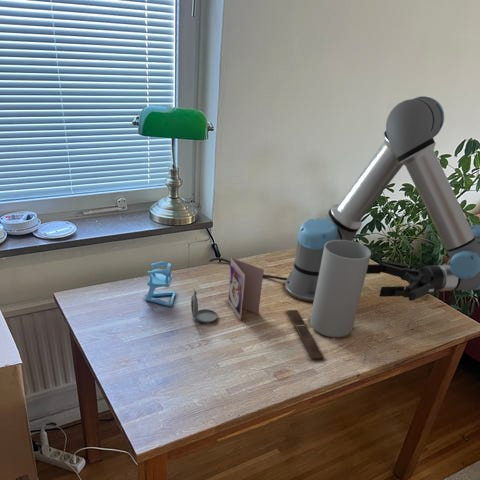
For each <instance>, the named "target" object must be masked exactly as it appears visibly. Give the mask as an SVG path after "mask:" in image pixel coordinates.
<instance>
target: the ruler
mask: <svg viewBox="0 0 480 480" xmlns="http://www.w3.org/2000/svg"><path fill="white" fill-rule="evenodd" d="M286 313H287V315H288V317H289V319H290V321H291V322H292V324H293V326H294V328H295V330H296V332H297V334H298V336H299V338H300V339H301V342H302V343H303V346H304V347H305V349H306V351H307V353H308V355H309V357H310V359H311V361H323V360H324V356H323V354H322V352H321V350H320V349H319V348H318V345H317V343H316V342H315V340H314V338H313V337H312V335H311V332H310V331H309V329H308V327H307V326H306V324H305V322H304V320H303V318H302V317H301V315H300V313H299V311H298V309H297V310H295V309H294V310H293V309H292V310H291V309H290V310H287V312H286Z"/></svg>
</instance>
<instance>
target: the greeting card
mask: <svg viewBox="0 0 480 480" xmlns="http://www.w3.org/2000/svg"><path fill="white" fill-rule="evenodd" d="M230 261H231V264H230V263H228V264H229V277H228V278H229V279H228V289H227V291H228V292H227V303H228V304H229V306H230V307H231V309H232V310H233V312H234V313H235V315H236V316H237V317H238V319H239V320H240V321H242V311H243V309H245V310H247V311H250V312H252V313H254V314H258V315H259V313H260V305H261V303H260V302H261V294H262V287H263V279H264V277H263V275H264V271H265V270H264V269H263V268H260V267H258V266H255V265H253V264H250V263H247V262H245V261H241V260H238V259H236V258H233V257H230Z"/></svg>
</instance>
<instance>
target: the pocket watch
mask: <svg viewBox="0 0 480 480" xmlns="http://www.w3.org/2000/svg"><path fill="white" fill-rule="evenodd" d="M193 290H194V292H193V294H192V295H191V298H190V308H191V314H192V318H194V319H195V320H196V321H197V322H200V323H202V324H203V323H204V324H210V323H213V322H216V320H217V319H218V313H217V311H214V310H212V309H207V308H203V309H199V301H198V297H197V291H196V290H195V287H193Z"/></svg>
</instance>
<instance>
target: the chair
mask: <svg viewBox="0 0 480 480" xmlns="http://www.w3.org/2000/svg"><path fill="white" fill-rule="evenodd" d="M158 266H164V267H165V268H155V267H158ZM172 266H173V265H172V264H171V263H169V262H166V261H158V262H153V263H151V268H152V270H148V271H147V274H148V276H149V279H148V281H147V283H146V284H147V286H149V289H148V293H147V295H146V296H145V300H146V301H147V302H152V303H156V304H160V305H162V306H168V307H172V306H173V303H174V301H175V297H176V291H159V292H158V291H157V292H156V291H155V290H156V289H157V288H170V286H171V283H172V280H173V278H174V277H173V274H172V273H171V271H172V268H173V267H172ZM163 296H171V299H170V301H165V300H162V299H159V298H155V297H163Z"/></svg>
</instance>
